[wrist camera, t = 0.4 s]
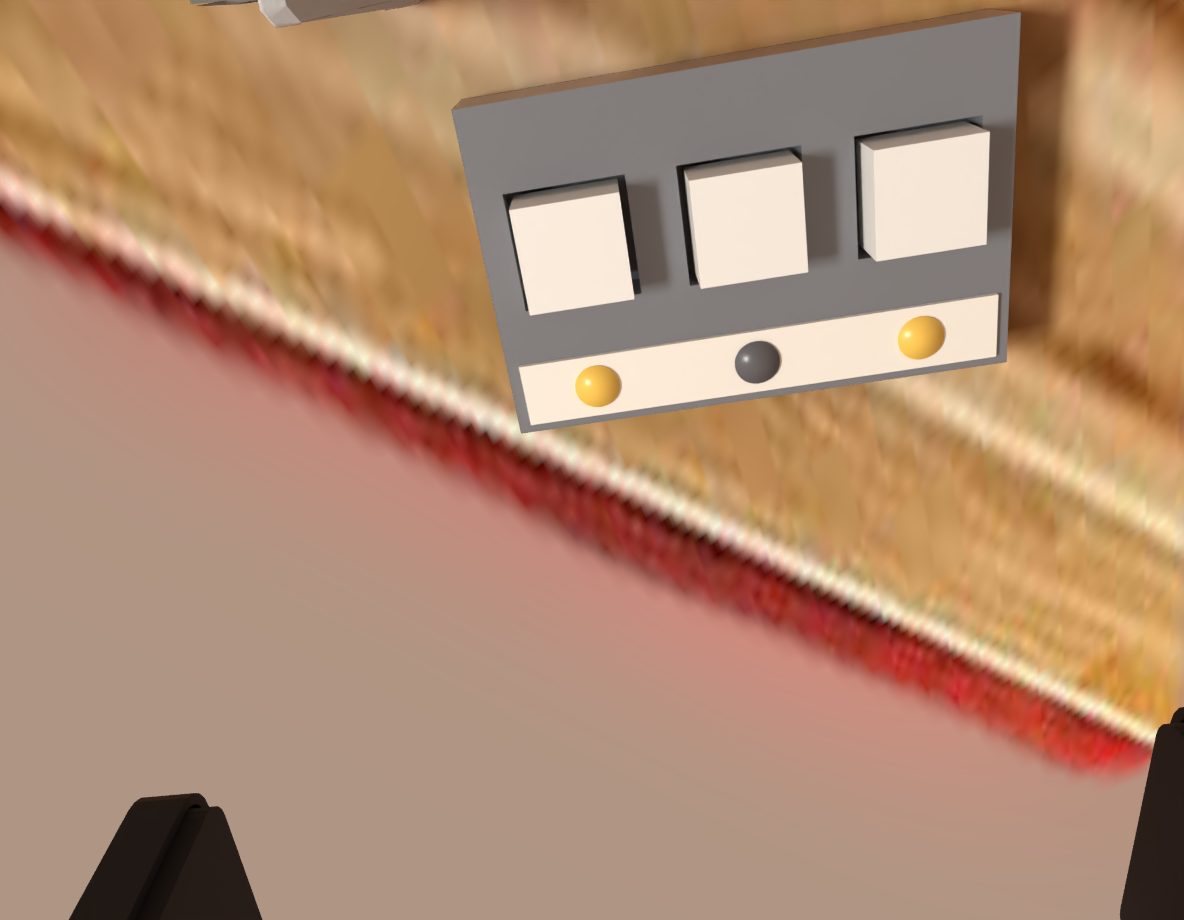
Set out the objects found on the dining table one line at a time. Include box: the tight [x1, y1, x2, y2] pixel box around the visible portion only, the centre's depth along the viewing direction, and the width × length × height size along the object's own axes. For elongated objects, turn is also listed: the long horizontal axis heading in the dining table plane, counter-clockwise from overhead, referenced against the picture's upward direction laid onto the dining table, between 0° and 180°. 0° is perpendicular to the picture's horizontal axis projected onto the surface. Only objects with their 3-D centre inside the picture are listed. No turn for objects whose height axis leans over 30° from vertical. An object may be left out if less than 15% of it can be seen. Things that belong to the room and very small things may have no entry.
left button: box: [509, 179, 634, 316], centre depth 36 cm, size 4×4×2 cm
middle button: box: [683, 150, 808, 289], centre depth 36 cm, size 4×4×2 cm
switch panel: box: [451, 9, 1021, 433], centre depth 38 cm, size 13×20×3 cm, turn 99°
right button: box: [856, 121, 990, 262], centre depth 35 cm, size 4×4×2 cm
